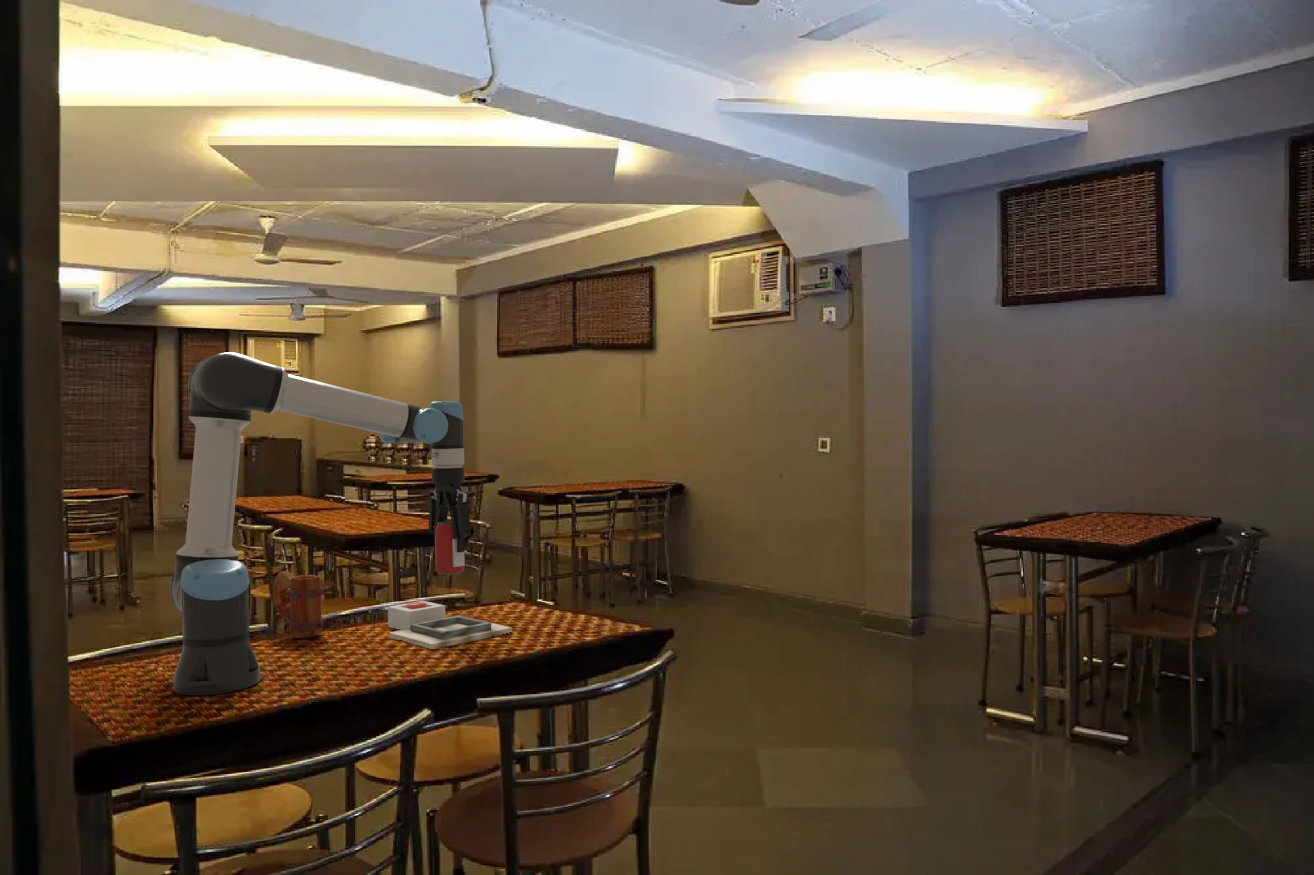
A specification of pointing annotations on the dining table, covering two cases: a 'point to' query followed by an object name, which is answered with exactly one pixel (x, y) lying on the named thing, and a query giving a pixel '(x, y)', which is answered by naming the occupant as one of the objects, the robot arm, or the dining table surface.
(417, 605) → the button
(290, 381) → the robot arm
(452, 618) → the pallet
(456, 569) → the beer can
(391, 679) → the dining table surface
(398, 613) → the button box
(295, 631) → the mug
